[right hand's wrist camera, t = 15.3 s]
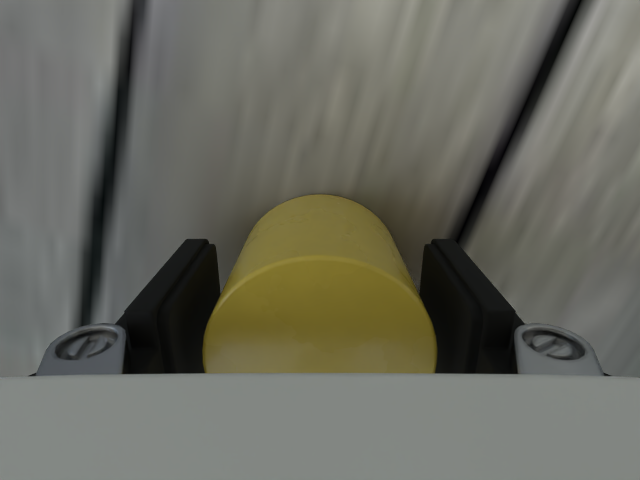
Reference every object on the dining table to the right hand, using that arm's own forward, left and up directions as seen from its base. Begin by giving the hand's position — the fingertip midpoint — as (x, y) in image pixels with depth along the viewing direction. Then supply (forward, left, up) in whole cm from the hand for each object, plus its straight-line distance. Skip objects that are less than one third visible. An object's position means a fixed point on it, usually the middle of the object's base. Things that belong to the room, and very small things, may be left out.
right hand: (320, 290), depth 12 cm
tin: (0, 0, -1) cm, 1 cm away
